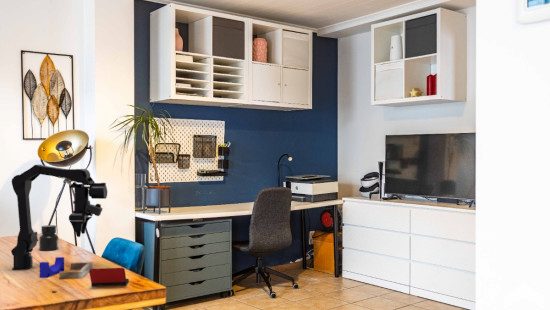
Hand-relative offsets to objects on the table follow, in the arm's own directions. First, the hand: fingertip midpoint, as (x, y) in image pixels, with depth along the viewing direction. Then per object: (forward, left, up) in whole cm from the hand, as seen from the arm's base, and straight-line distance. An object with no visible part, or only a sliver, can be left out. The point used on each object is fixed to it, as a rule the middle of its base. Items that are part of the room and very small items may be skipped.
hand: (81, 235), depth 236 cm
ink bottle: (-27, +49, -14) cm, 58 cm away
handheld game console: (+17, -34, -14) cm, 41 cm away
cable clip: (-9, -12, -14) cm, 21 cm away
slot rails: (0, -12, -14) cm, 18 cm away
